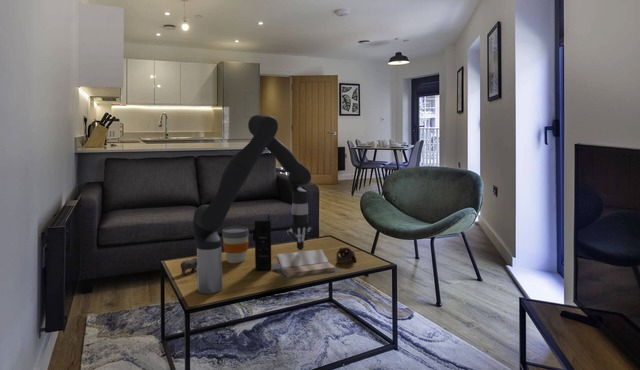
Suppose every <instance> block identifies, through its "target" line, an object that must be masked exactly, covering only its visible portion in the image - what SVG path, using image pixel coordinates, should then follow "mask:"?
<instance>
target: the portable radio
mask: <svg viewBox="0 0 640 370" xmlns="http://www.w3.org/2000/svg"><path fill="white" fill-rule="evenodd" d="M253 221H254V227H253V229H252V242H254V261H255V262H254V265H255V272H266V271H272V266H271V264H272V229H271V228H272V227H271V226H272V222H271V218H270V213H267V218H255V219H254V220H253Z"/></svg>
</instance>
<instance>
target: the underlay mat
mask: <svg viewBox="0 0 640 370" xmlns="http://www.w3.org/2000/svg"><path fill="white" fill-rule="evenodd" d="M271 268H273V269H274V271H276V272H277V274H279V275H280V276H281V277H282V279H283V280H284V281H285V280H292V279H300V278H301V279H302V278H307V277H315V276H323V275H327V274H335V273H337V274H338V273H342V271H341V270H339V269H338V268H336V267H335V271H332V272H324V273H317V274H310V275H302V276H295V277H287V276H286V275H285V274H284V273H283V271H282V270H281V268H280V265H279V263H278V262H277V263H271Z"/></svg>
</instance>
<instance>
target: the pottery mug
mask: <svg viewBox="0 0 640 370" xmlns="http://www.w3.org/2000/svg"><path fill="white" fill-rule="evenodd" d="M349 261H354V262H356V263H357V261H358V260H357V257H356V254H355V252H354V251H353V250H352V249H351V248H349V247H340V248H339V249H338V250H337V252H336V264H342V263H347V262H349Z"/></svg>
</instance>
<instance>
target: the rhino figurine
mask: <svg viewBox="0 0 640 370" xmlns="http://www.w3.org/2000/svg"><path fill="white" fill-rule="evenodd" d="M180 269H181V276H182V277H185V276H186V275H187V274H186V271H187V270H190V271H191V272H193V273H197V257H193V258H192V259H187V260H183V261H182V262H181V263H180Z"/></svg>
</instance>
